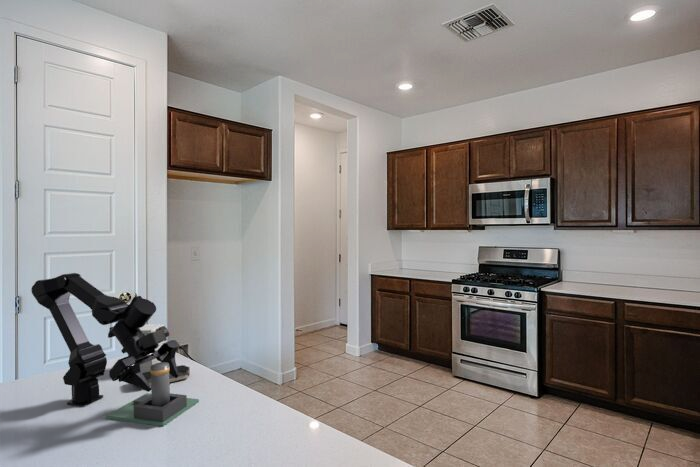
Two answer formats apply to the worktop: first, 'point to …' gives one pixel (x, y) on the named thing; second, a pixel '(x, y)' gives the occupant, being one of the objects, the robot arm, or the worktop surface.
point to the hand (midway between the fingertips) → (164, 383)
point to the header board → (152, 410)
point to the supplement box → (147, 365)
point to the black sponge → (182, 372)
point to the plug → (160, 384)
